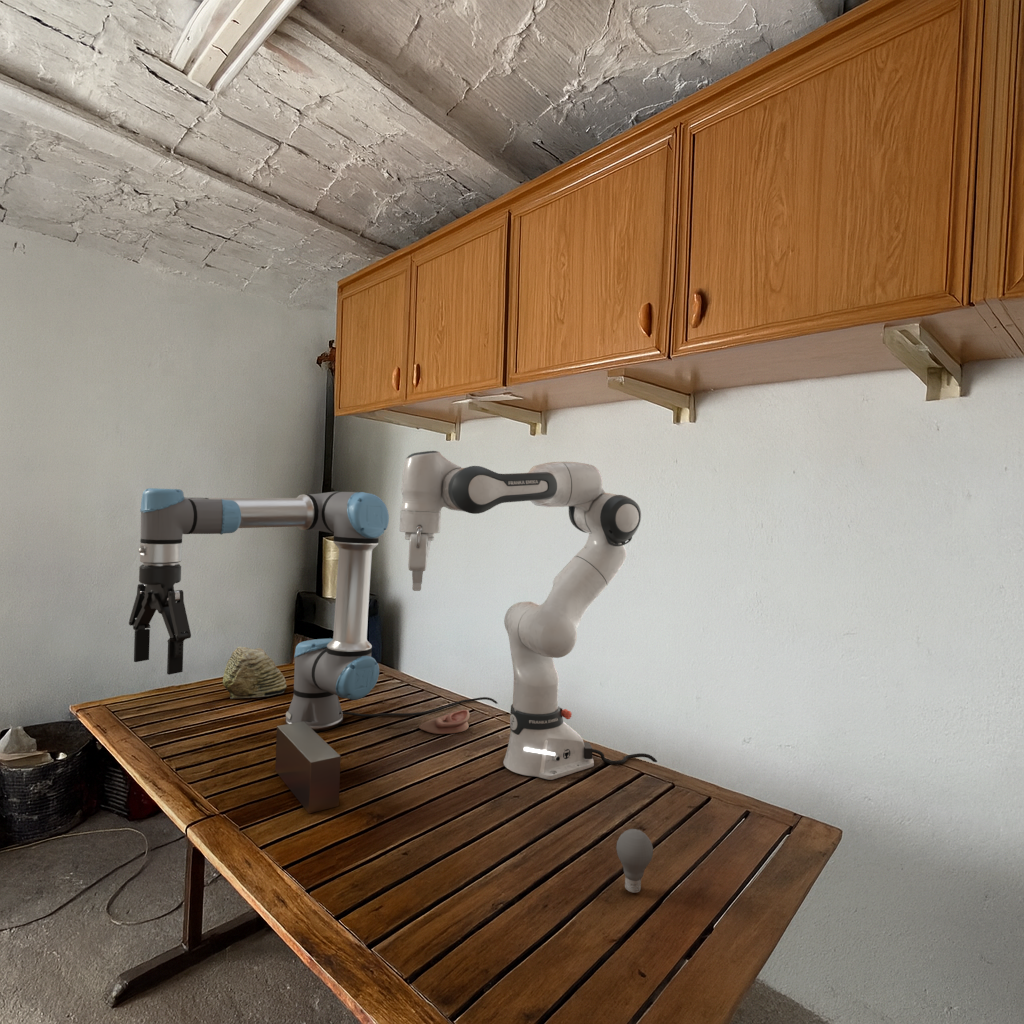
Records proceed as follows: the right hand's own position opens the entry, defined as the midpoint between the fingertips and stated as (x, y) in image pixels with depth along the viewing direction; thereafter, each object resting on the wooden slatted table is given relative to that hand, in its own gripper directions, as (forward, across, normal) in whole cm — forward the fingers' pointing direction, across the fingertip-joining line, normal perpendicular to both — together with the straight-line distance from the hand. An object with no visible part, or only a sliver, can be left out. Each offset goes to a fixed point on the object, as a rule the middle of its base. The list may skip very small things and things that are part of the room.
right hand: (417, 587), depth 139 cm
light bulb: (+44, -39, -39) cm, 71 cm away
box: (+44, 0, +22) cm, 50 cm away
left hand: (+18, -3, +52) cm, 55 cm away
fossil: (+44, +65, +51) cm, 93 cm away
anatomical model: (+44, +36, -8) cm, 58 cm away
